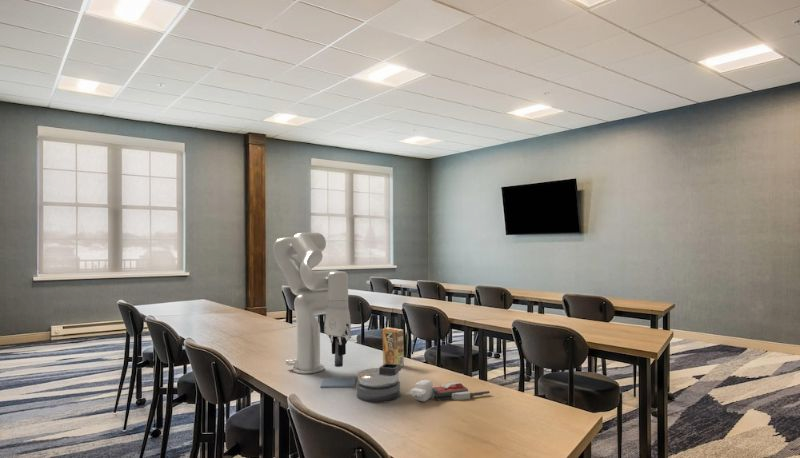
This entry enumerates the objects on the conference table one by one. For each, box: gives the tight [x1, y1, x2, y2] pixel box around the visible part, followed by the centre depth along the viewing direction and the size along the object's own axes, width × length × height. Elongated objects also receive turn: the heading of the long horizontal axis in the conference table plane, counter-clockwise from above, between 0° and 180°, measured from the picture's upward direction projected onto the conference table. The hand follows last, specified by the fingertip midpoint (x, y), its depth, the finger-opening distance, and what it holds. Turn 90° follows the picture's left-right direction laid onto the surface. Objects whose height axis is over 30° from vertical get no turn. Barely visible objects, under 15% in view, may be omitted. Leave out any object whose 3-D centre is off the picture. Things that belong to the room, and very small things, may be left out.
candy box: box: [381, 327, 405, 367], centre depth 199 cm, size 9×4×15 cm, turn 49°
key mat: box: [320, 376, 356, 389], centre depth 174 cm, size 12×10×1 cm
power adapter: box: [406, 379, 433, 402], centre depth 154 cm, size 11×5×6 cm, turn 147°
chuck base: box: [356, 381, 401, 404], centre depth 161 cm, size 15×15×4 cm
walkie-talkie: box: [431, 381, 491, 401], centre depth 160 cm, size 9×4×20 cm
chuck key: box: [334, 337, 344, 368], centre depth 174 cm, size 3×3×10 cm
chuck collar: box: [357, 363, 402, 389], centre depth 161 cm, size 14×14×5 cm
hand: (338, 353), depth 174 cm, fingers closed on chuck key, 3 cm apart
